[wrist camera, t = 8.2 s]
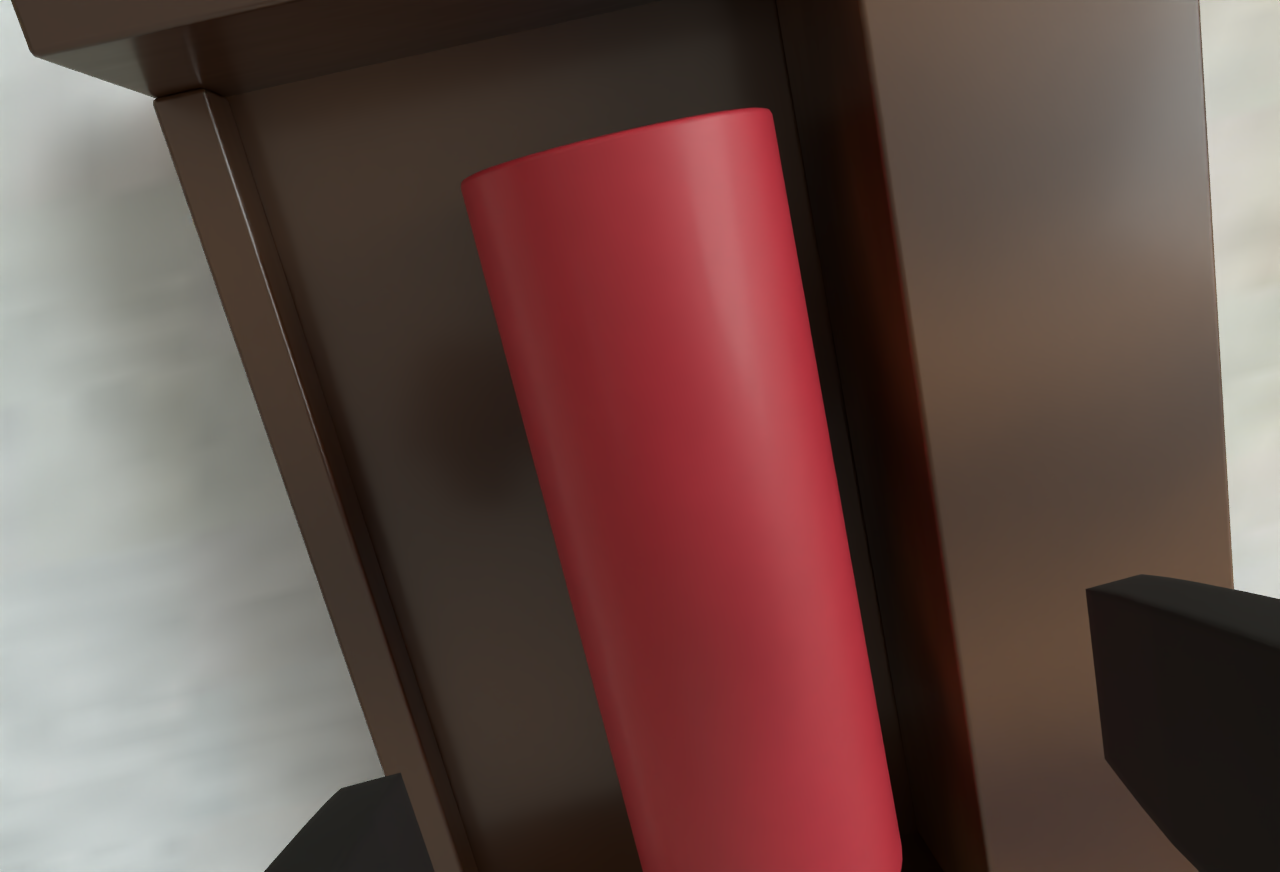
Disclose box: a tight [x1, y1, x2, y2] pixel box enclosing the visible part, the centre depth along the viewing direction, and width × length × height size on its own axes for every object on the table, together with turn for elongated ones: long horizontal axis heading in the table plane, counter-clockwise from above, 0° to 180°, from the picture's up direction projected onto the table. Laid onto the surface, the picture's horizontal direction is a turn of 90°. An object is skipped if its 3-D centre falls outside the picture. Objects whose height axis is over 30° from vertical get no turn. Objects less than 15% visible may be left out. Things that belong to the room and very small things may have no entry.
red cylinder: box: [461, 107, 902, 872], centre depth 14 cm, size 12×4×4 cm
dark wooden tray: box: [11, 0, 1234, 872], centre depth 15 cm, size 18×14×6 cm
